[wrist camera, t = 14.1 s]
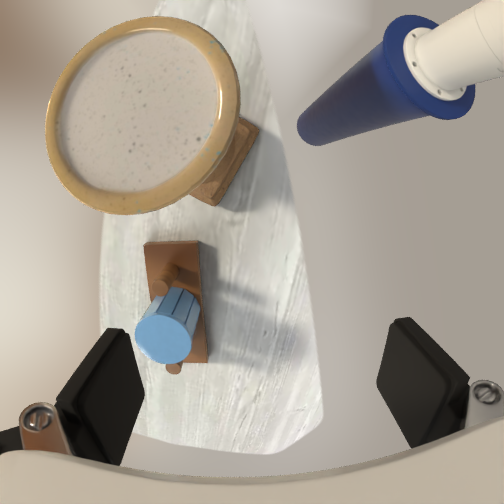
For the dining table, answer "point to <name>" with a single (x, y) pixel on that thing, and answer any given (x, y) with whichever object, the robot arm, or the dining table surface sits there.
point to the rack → (178, 285)
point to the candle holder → (147, 118)
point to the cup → (169, 326)
